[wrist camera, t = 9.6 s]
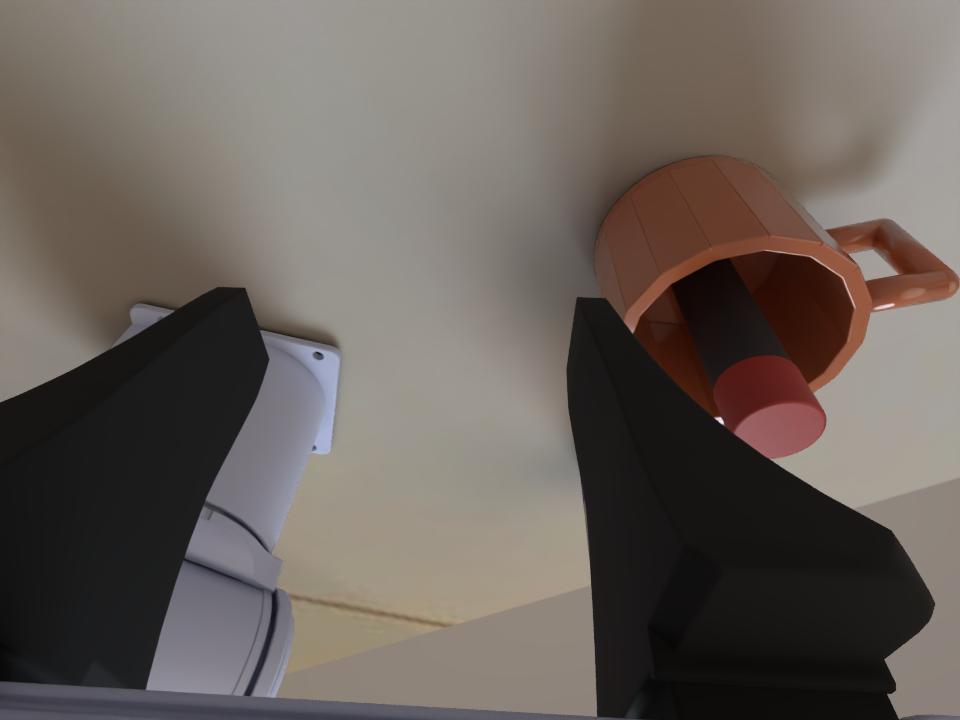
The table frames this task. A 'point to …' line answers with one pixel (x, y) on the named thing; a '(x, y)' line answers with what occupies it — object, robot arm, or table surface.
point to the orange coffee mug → (752, 267)
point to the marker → (747, 363)
